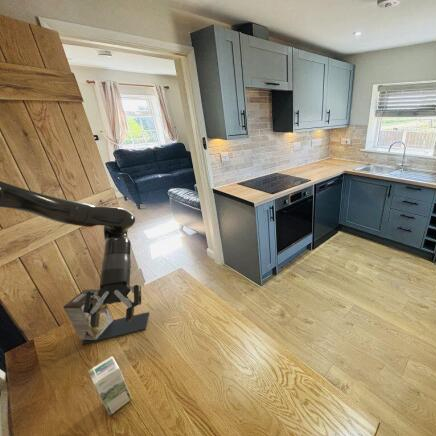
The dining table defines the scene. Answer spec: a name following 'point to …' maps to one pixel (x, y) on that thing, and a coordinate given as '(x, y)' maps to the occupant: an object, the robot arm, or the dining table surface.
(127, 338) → the dining table surface
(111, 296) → the robot arm
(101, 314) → the coffee box
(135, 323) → the dark gray mat
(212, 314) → the dining table surface
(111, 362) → the syrup box
